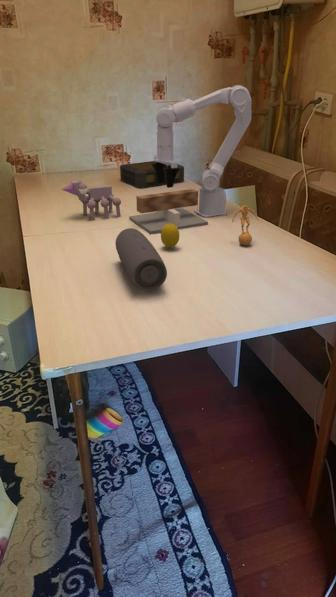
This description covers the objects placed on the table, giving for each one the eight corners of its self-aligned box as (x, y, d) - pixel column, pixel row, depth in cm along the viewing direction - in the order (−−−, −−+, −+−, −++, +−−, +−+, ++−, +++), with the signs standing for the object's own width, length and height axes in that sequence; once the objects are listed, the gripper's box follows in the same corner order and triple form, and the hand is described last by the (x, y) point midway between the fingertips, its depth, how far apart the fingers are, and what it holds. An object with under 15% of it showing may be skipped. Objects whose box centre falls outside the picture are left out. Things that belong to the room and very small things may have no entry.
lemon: (181, 246, 133) (181, 221, 130) (175, 252, 129) (176, 226, 125) (164, 244, 135) (164, 219, 131) (158, 250, 130) (158, 224, 127)
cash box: (162, 174, 223) (162, 159, 219) (185, 182, 208) (185, 166, 204) (118, 180, 211) (117, 164, 207) (139, 189, 196) (138, 172, 192)
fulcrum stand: (183, 211, 166) (183, 198, 164) (207, 224, 152) (208, 210, 149) (129, 219, 157) (128, 205, 155) (150, 234, 143) (150, 219, 141)
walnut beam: (192, 202, 158) (193, 188, 156) (197, 205, 155) (198, 191, 153) (136, 210, 149) (136, 196, 147) (141, 213, 146) (140, 198, 144)
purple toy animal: (68, 224, 151) (63, 185, 146) (61, 217, 160) (57, 180, 154) (123, 217, 159) (120, 179, 153) (114, 211, 167) (111, 174, 162)
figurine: (234, 248, 132) (236, 209, 126) (227, 241, 137) (230, 203, 132) (260, 246, 133) (264, 207, 128) (252, 239, 139) (256, 202, 133)
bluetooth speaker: (169, 293, 106) (169, 254, 101) (132, 298, 104) (130, 259, 99) (146, 258, 125) (145, 224, 121) (114, 261, 123) (112, 227, 118)
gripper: (146, 143, 157) (146, 181, 163) (164, 149, 145) (164, 190, 152) (163, 142, 160) (163, 179, 166) (182, 148, 148) (182, 188, 155)
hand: (165, 184), depth 159 cm, fingers open, 7 cm apart
